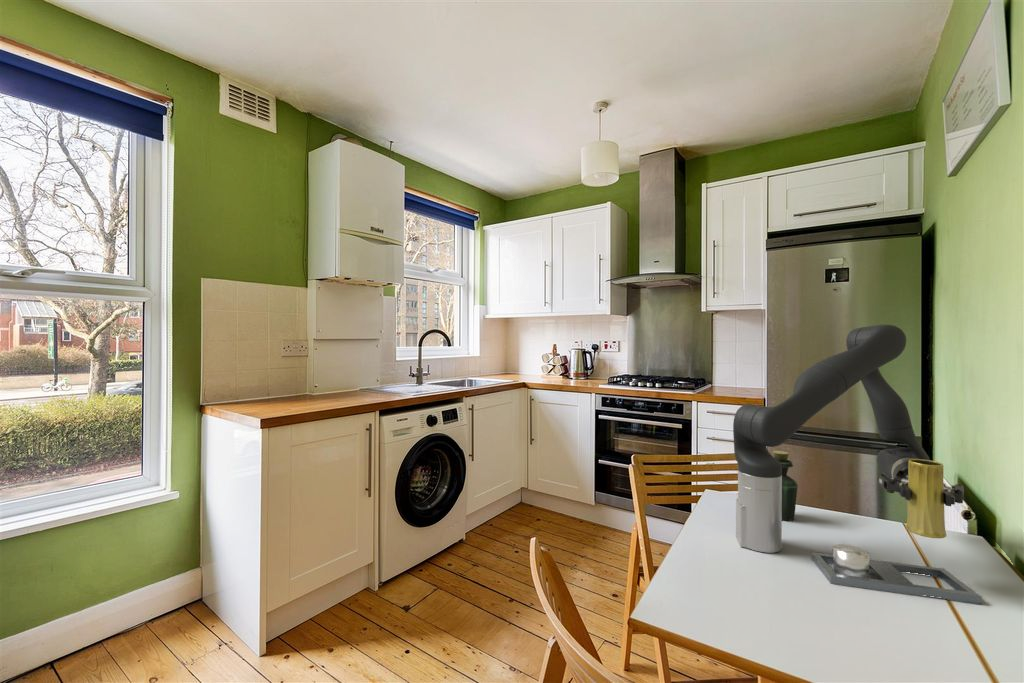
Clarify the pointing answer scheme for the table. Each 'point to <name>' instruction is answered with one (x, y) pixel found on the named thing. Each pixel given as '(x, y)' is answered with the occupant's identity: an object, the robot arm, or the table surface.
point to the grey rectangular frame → (887, 575)
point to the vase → (926, 499)
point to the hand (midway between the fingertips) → (928, 497)
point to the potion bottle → (787, 487)
